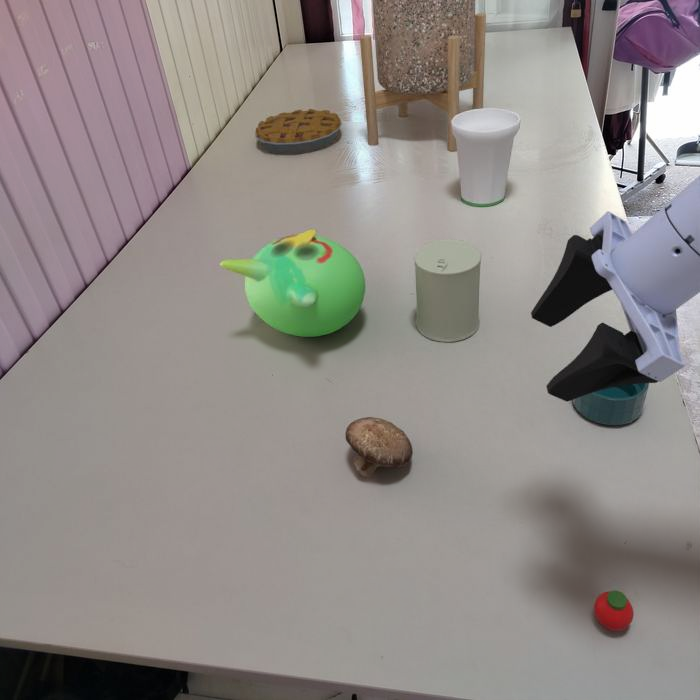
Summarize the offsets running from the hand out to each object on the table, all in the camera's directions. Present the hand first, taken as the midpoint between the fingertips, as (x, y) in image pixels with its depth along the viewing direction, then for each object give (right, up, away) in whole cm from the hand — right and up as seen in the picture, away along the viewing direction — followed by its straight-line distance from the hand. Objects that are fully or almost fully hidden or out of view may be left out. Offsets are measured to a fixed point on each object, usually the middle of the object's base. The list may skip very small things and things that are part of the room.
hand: (548, 355), depth 50 cm
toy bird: (-22, +4, +47) cm, 52 cm away
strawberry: (+8, -24, +7) cm, 26 cm away
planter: (+3, +54, +106) cm, 119 cm away
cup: (+11, +30, +76) cm, 82 cm away
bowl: (+16, -6, +28) cm, 33 cm away
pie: (-28, +53, +110) cm, 126 cm away
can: (-1, +4, +44) cm, 45 cm away
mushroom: (-12, -13, +25) cm, 30 cm away
